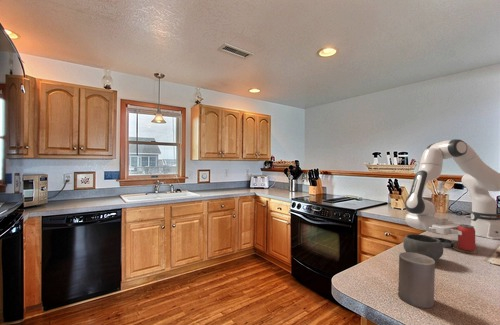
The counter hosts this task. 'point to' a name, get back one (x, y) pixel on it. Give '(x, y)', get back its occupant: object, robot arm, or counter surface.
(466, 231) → the beer can
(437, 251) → the bowl
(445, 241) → the can collar
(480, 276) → the counter surface
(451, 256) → the counter surface
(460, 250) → the walnut coaster
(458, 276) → the counter surface
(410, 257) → the pillar candle
